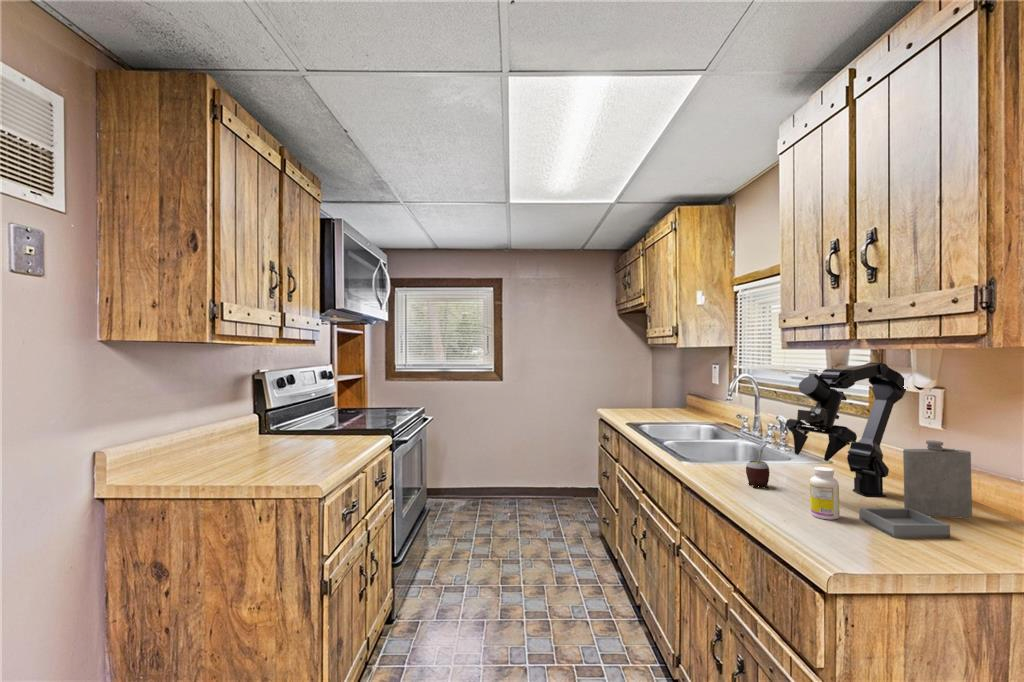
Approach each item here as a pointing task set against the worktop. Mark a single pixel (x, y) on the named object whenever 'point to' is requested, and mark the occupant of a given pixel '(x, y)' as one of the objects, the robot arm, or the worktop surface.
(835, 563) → the worktop surface
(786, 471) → the worktop surface
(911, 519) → the tray
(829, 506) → the supplement bottle
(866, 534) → the worktop surface
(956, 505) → the hip flask
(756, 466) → the mate gourd
